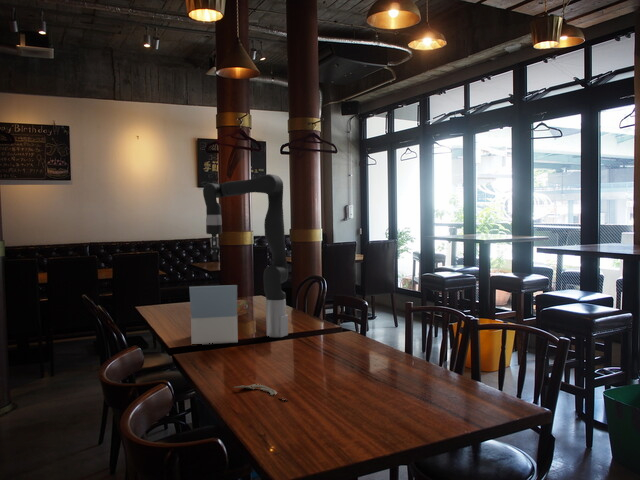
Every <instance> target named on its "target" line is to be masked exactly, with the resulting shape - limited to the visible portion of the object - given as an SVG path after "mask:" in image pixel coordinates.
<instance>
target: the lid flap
mask: <svg viewBox="0 0 640 480" xmlns="http://www.w3.org/2000/svg"><path fill="white" fill-rule="evenodd" d="M188 288H189V289H188V290H189V301H190V302H189V303H190V304H189V305H190V306H189V307H190V319H191V318H210V317H231V316H237V301H238V285H237V284H230V285H229V284H228V285H200V286H189V287H188ZM237 317H238V316H237Z"/></svg>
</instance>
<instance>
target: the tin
mask: <svg viewBox="0 0 640 480" xmlns="http://www.w3.org/2000/svg"><path fill="white" fill-rule="evenodd" d="M249 309H250V303H249V301H248V300H246V299H239V300H238V299H237V317H238V316H243V315H246V314H247V313H248V312H249V311H250V310H249Z"/></svg>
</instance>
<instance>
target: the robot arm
mask: <svg viewBox="0 0 640 480" xmlns="http://www.w3.org/2000/svg"><path fill="white" fill-rule="evenodd" d="M251 193H258V194H265V195H267V200H268V203H267V205H268V206H267V211H266V214H265V218H264V224H263V225H264V237H265V241H266V243H267V245H268V247H269V249H270V252H271V257H272V258H271V259H272V265H267V267H266V268H265V269H264V271H263V290H264V291H263V292H264V294H265V295H264V296H265V303H266V304H265V310H266V312H265V313H266V314H265V315H266V317H265V318H266V321H265V322H266V336H267V337H268V336H269V337H268V338H283V337H286V336H288V335H289V316H288V314H287V301H286V299H287V296H286V295H287V294H286V292H285V291H283V290H282V284H283V283H286V282H287V280H288V279H289V278H288V277H289V268H288V261H287V253H286V242H285V241H286V238H285V234H286V233H285V222H284V209H283V207H284V205H283V203H284V199H283V198H284V182H283V179H282V178H281V177H280V176H278V175H276V174H269V173H268V174H264V175H261V176H260V175H259V176H258V177H255V178H250V179H243V180H240V179H239V180H231V181H225V182H222V183H212V182H208V183H205V184H204V185H203V189H202V196H203V199H204V204H205V207H206V210H205V212H206V213H205V214H206V219H205V225H206V226H205V229H206V230H205V232H206V235H211V237H209V242H210V248H211V258H212V259H211V260H213V261H216V260H218V247H219V237H217V235H221V234H222V233H223V227H222V226H223V225H222V223H223V222H222V221H223V220H222V219H223V218H222V207H221V204H220V203H219V202H218V200H217V199H219V198H225V197H235V196H240V195H246V194H251Z"/></svg>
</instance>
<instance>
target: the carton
mask: <svg viewBox="0 0 640 480" xmlns="http://www.w3.org/2000/svg"><path fill="white" fill-rule="evenodd" d="M238 324H239V323H238V316H231V317H210V318H191V317H190V330H191V331H190V332H191V334H190V335H191V337H190V338H191V339H190V340H191V343H190V344H191V345H192V344H202V345H214V344H215V345H216V344H217V345H218V344H230V343H231V344H235V343H236V344H237V343H238V342H239V340H238V339H239V337H238V336H239V334H238V326H239V325H238ZM209 343H210V344H209ZM212 343H213V344H212Z"/></svg>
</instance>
